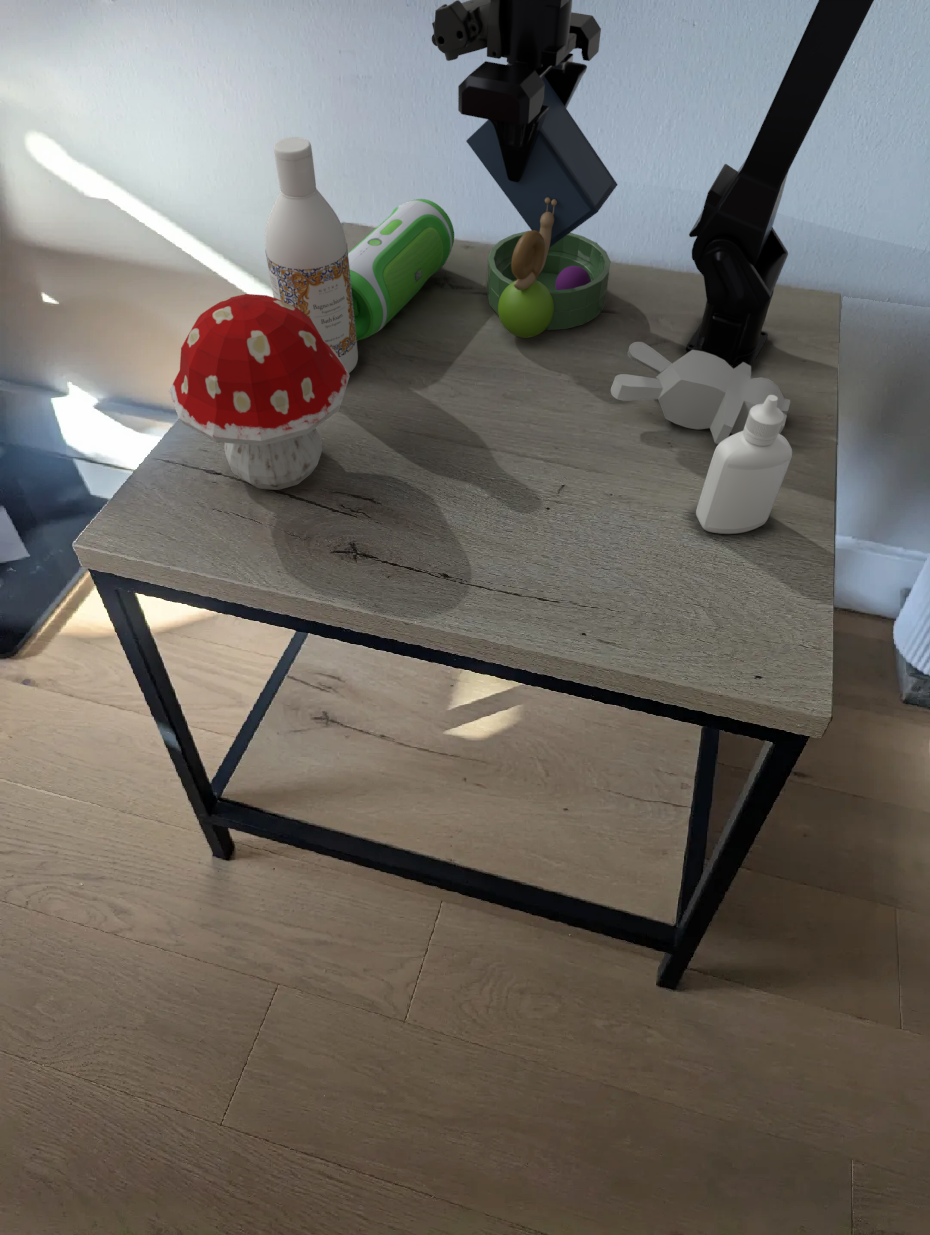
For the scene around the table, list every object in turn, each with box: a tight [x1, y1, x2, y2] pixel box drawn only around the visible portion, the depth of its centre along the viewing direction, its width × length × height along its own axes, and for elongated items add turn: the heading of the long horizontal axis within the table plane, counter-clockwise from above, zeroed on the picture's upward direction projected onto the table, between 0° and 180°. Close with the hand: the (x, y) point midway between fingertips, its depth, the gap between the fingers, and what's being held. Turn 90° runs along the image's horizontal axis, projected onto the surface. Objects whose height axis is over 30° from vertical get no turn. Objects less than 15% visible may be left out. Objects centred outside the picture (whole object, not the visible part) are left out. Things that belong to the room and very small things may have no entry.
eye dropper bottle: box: [695, 395, 793, 535], centre depth 66 cm, size 4×6×12 cm
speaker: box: [348, 198, 455, 341], centre depth 87 cm, size 18×7×8 cm, turn 154°
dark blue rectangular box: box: [465, 76, 618, 248], centre depth 80 cm, size 6×6×12 cm
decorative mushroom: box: [168, 293, 350, 491], centre depth 68 cm, size 14×14×15 cm
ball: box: [555, 266, 591, 290], centre depth 88 cm, size 4×4×4 cm
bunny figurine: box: [610, 341, 791, 445], centre depth 77 cm, size 10×5×15 cm
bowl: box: [486, 230, 612, 331], centre depth 89 cm, size 12×12×4 cm
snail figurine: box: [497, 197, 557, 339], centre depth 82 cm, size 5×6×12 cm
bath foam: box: [264, 136, 359, 374], centre depth 75 cm, size 7×7×20 cm
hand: (526, 166), depth 81 cm, fingers closed on dark blue rectangular box, 6 cm apart
